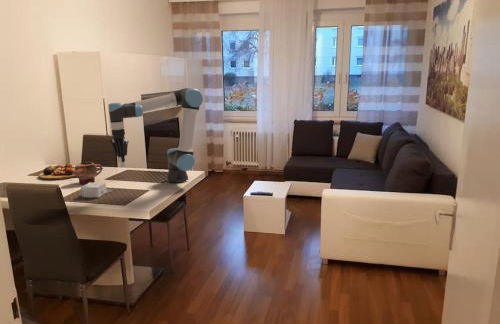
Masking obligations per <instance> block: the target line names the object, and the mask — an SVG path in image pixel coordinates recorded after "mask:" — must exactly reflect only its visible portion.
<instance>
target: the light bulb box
mask: <svg viewBox="0 0 500 324" xmlns="http://www.w3.org/2000/svg"><path fill="white" fill-rule="evenodd" d="M80 189H81V195H82V198H86V197H94V198H100V197H102V196H104V195H105V193H106V192H107V191H106V189H107V183H106V182H94V183H88V184H83V186H81V187H80ZM106 194H107V193H106Z"/></svg>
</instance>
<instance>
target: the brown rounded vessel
mask: <svg viewBox="0 0 500 324" xmlns="http://www.w3.org/2000/svg"><path fill="white" fill-rule="evenodd" d="M74 168H75V169H74V171H73V174H74V175H75V176H77V177H76V178H78V183H79V184H80V185H86V184H88V183H96V182H95V181H96V180H95V179H96V178H95V177H98V176H99V175H100V174H101V172H102V171H103V166H102V165H101V164H99V163H98V164H97V163H96V164H95V163H94V162H90V161H89V162H85V161H84V162H81V163H78V164H76V165H75V167H74ZM97 168H100V170H99V171H98V169H97ZM97 171H98V172H97Z"/></svg>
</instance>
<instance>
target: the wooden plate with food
mask: <svg viewBox="0 0 500 324" xmlns="http://www.w3.org/2000/svg"><path fill="white" fill-rule="evenodd" d="M74 169H75V167H74V166H73V165H72V164H71V163H66V164H65V165H63V164H58V165H55V166H54V165H51V164H50V165H48V166H46V167H45V168H44V169H43V171H42V173H40V174H38V179H41V180H46V181H47V180H48V181H50V180H51V181H55V180H67V179H74V178H78V177H77V176H75V175H74V174H73V171H74Z"/></svg>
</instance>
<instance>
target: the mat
mask: <svg viewBox="0 0 500 324" xmlns="http://www.w3.org/2000/svg"><path fill="white" fill-rule="evenodd" d="M106 191H107V192H106V193H105V194H108V193H111V192H114V191H115V190H114V189H108V188H106ZM105 194H104V195H105ZM81 196H82V194H81V195H78V197H81ZM85 198H88V199H94V198H95V197H85Z"/></svg>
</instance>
